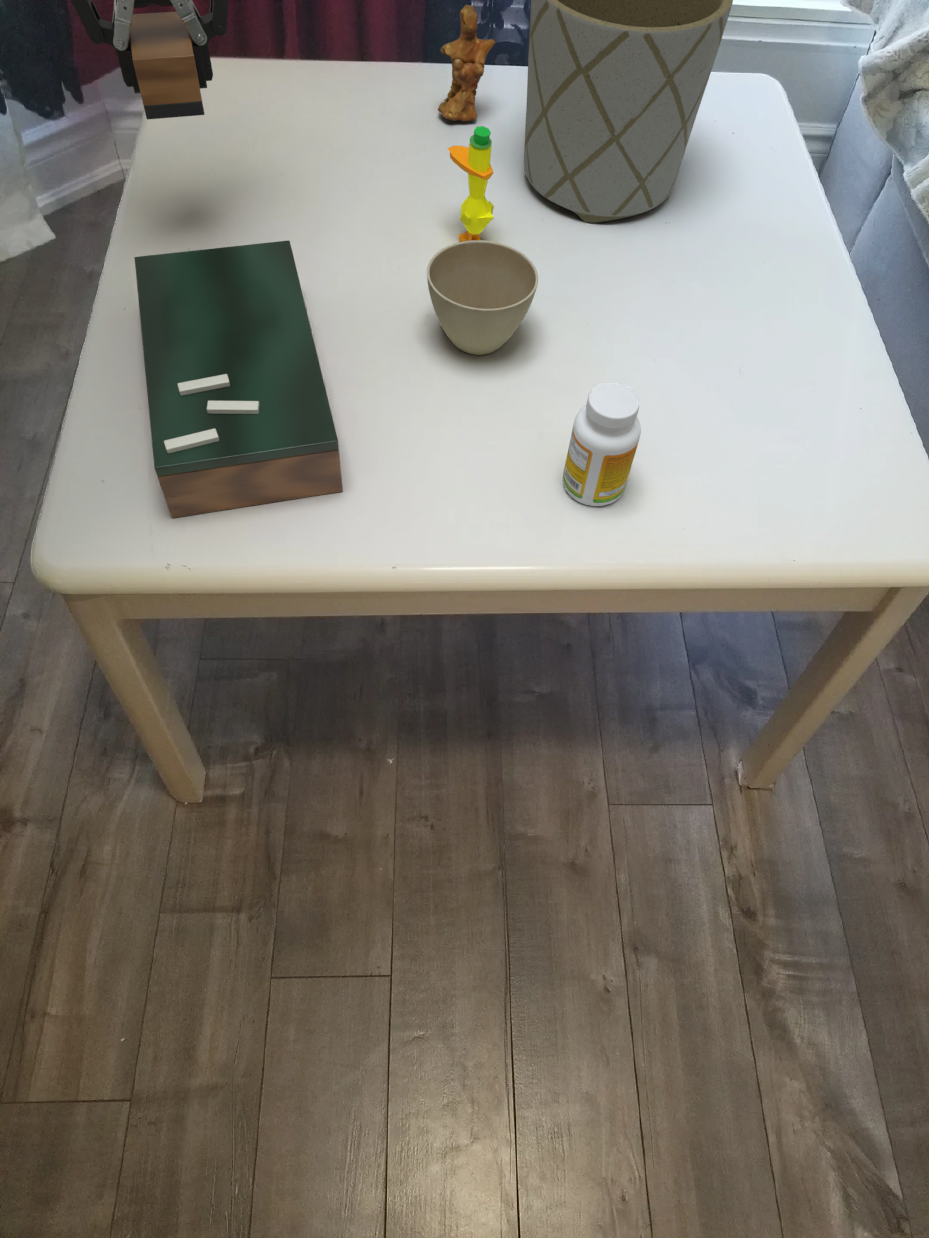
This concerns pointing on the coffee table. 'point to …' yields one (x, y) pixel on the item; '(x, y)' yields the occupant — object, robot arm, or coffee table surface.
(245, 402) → the chalk stroke
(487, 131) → the toy figure
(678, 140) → the planter
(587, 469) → the supplement bottle
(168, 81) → the eraser
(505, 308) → the flower pot
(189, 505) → the chalkboard
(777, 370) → the coffee table surface
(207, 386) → the chalk stroke
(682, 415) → the coffee table surface
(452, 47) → the figurine
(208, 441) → the chalk stroke
